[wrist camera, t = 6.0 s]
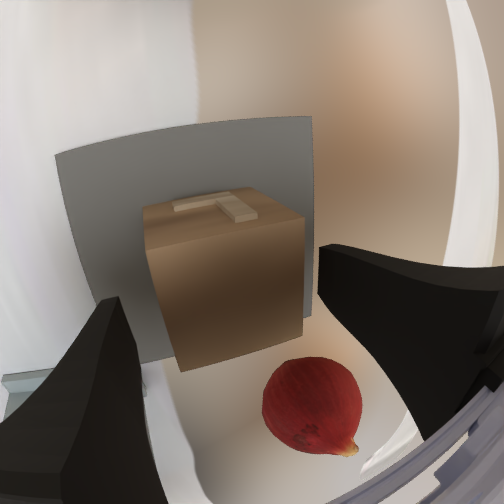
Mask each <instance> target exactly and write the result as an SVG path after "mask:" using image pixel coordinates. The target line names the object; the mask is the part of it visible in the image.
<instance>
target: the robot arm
mask: <svg viewBox="0 0 504 504" xmlns="http://www.w3.org/2000/svg"><path fill="white" fill-rule="evenodd" d="M317 294H318V295H319V296H320V298H321V300H322V301H323V302H324V304H325V305H326V307H327V308H328V309H329V311H330V312H331V313H332V314H333V315H334V316H335V318H336V319H337V320H338V321H339V322H340V323H341V324H342V325H343V326H344V327H345V328H346V329H347V330H348V331H349V332H350V333H351V334H352V335H353V336H354V337H355V338H356V339H357V340H358V341H359V342H360V343H361V344H362V345H363V346H364V347H365V348H366V349H367V350H368V352H369V353H370V354H371V355H372V356H373V357H374V359H375V360H376V361H377V363H378V364H379V365H380V367H381V368H382V369H383V371H384V372H385V373H386V375H387V376H388V378H389V379H390V381H391V382H392V384H393V385H394V386H395V388H396V389H397V391H398V393H399V394H400V396H401V398H402V399H403V401H404V403H405V404H406V406H407V408H408V410H409V411H410V413H411V415H412V417H413V419H414V421H415V423H416V425H417V427H418V429H419V431H420V433H421V436H422V438H423V440H424V441H425V442H423V443H422V444H421V445H420V446H418V447H417V448H416V449H414V450H413V451H412V452H410V453H409V454H408V455H406V456H405V457H403V458H402V459H401V460H399V461H398V462H397V463H395V464H393V465H392V466H390V467H389V468H387V469H386V470H385V471H383V472H381V473H380V474H378V475H377V476H375V477H373V478H372V479H370V480H368V481H367V482H365V483H364V484H362V485H360V486H358V487H357V488H355V489H353V490H351V491H350V492H348V493H346V494H344V495H342V496H340V497H338V498H336V499H334V500H332V501H330V502H328V503H326V504H378V503H379V502H381V501H383V500H384V499H385V498H387V497H389V496H390V495H391V494H393V493H395V492H396V491H397V490H399V489H400V488H402V487H403V486H404V485H406V484H407V483H408V482H410V481H411V480H412V479H414V478H415V477H417V476H418V475H419V474H420V473H422V472H423V471H424V470H425V469H427V468H428V467H429V466H430V465H431V464H433V463H434V462H435V461H436V460H437V459H439V458H440V457H441V456H442V455H443V454H444V453H445V452H446V451H448V450H449V449H450V448H451V447H452V446H453V445H454V444H455V443H456V442H457V441H458V440H459V439H460V438H461V437H462V436H463V435H464V434H465V433H466V432H467V431H468V430H469V431H468V436H469V438H468V439H467V440H466V441H465V442H464V443H463V444H462V445H461V447H460V448H459V449H458V450H457V451H456V452H455V453H454V454H453V455H452V456H451V457H450V458H449V459H448V460H447V461H446V462H445V463H444V464H443V465H442V466H441V467H440V468H439V469H438V470H437V471H435V472H434V476H435V477H436V478H437V479H438V481H439V482H440V485H439V486H438V487H436V488H435V489H434V490H433V491H432V492H430V493H429V494H428V495H427V496H426V497H424V498H423V499H422V500H420V501H419V502H418V503H416V504H504V266H498V267H482V268H463V267H448V266H438V265H431V264H424V263H418V262H413V261H408V260H404V259H399V258H394V257H390V256H386V255H382V254H378V253H374V252H371V251H366V250H363V249H358V248H354V247H350V246H345V245H340V244H330V245H326V246H322V247H319V269H318V292H317ZM0 504H168V501H167V498H166V496H165V493H164V490H163V487H162V485H161V482H160V479H159V475H158V472H157V469H156V466H155V462H154V459H153V455H152V452H151V448H150V444H149V440H148V435H147V430H146V423H145V414H144V403H143V391H142V377H141V366H140V361H139V355H138V349H137V344H136V341H135V339H134V336H133V334H132V331H131V329H130V326H129V323H128V321H127V318H126V315H125V313H124V310H123V307H122V304H121V301H120V298H119V296H116V297H112V298H107V299H103V300H101V301H100V302H99V304H98V305H97V307H96V308H95V310H94V311H93V313H92V315H91V316H90V318H89V319H88V321H87V322H86V324H85V325H84V327H83V328H82V330H81V332H80V333H79V335H78V336H77V338H76V339H75V340H74V342H73V343H72V345H71V346H70V348H69V349H68V350H67V352H66V353H65V355H64V356H63V358H62V359H61V360H60V362H59V363H58V364H57V366H56V367H55V368H54V369H53V371H52V372H51V373H50V374H49V375H48V377H47V378H46V379H45V380H44V381H43V382H42V384H41V385H40V386H39V387H38V388H37V389H36V390H35V391H34V392H33V393H32V394H31V395H30V396H29V397H28V398H27V399H26V400H25V401H24V402H23V404H22V405H20V406H19V407H18V408H17V409H16V410H15V411H14V412H13V413H12V414H11V415H10V416H8V417H7V418H6V419H5V420H4V421H3V422H1V423H0Z"/></svg>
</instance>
